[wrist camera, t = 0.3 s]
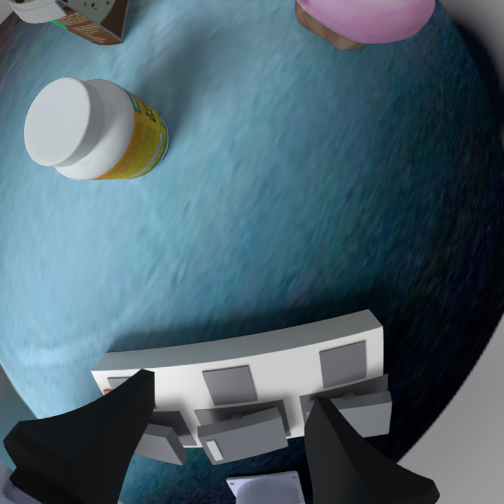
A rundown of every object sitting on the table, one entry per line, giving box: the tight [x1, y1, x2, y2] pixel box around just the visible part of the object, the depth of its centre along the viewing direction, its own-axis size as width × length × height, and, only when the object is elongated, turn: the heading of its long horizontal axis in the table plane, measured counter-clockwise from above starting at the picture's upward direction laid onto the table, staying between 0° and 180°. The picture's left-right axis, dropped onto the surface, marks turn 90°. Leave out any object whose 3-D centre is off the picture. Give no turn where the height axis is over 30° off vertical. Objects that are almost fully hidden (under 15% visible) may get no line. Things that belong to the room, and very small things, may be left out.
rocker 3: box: [306, 391, 392, 437], centre depth 18 cm, size 4×6×2 cm, turn 102°
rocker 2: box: [197, 407, 288, 465], centre depth 19 cm, size 4×6×2 cm, turn 102°
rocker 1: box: [134, 423, 188, 465], centre depth 19 cm, size 4×6×2 cm, turn 102°
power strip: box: [91, 309, 388, 447], centre depth 21 cm, size 9×23×3 cm, turn 102°
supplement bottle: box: [24, 77, 169, 180], centre depth 14 cm, size 5×5×10 cm
